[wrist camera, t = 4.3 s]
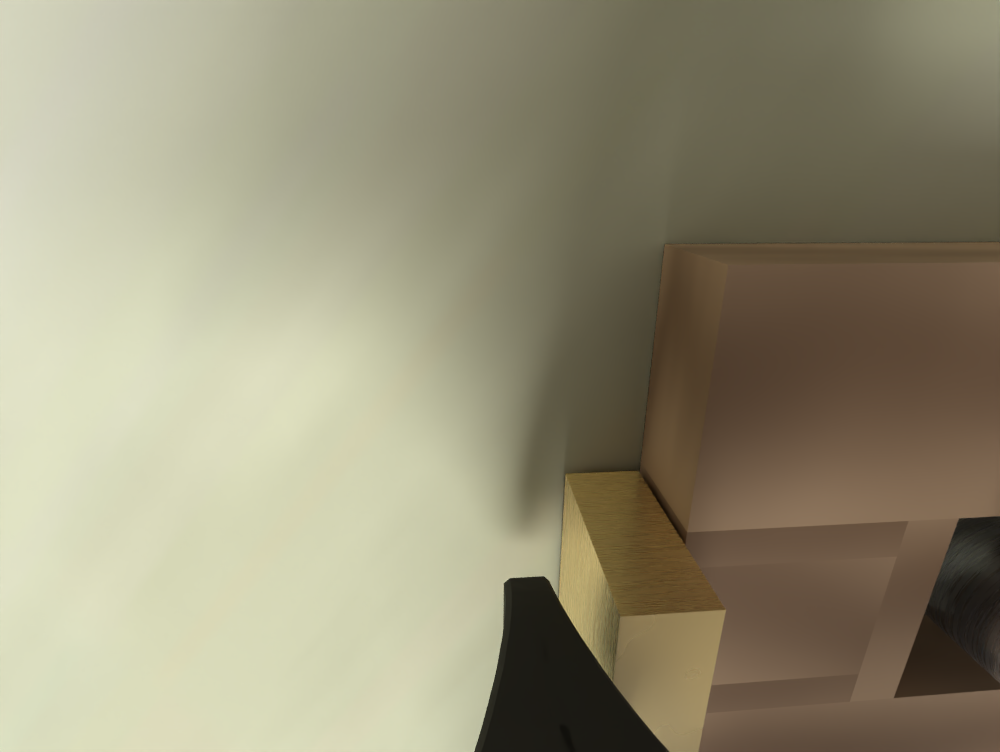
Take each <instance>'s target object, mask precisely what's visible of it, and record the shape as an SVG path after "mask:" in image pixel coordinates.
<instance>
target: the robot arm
mask: <svg viewBox="0 0 1000 752" xmlns="http://www.w3.org/2000/svg"><path fill="white" fill-rule="evenodd" d="M474 752H669V751H668V750H667V748H666V747H665V746H664V745H663V744H662V743H661V742H660V740H659V739H658V738H657V737H656V736H655V735H654V734H653V732H652V731H651V730H650V729H649V728H648V726H647V725H646V724H645V723H644V722H643V720H642V719H641V718H640V717H639V715H638V714H637V713H636V712H635V711H634V709H633V708H632V707H631V705H630V704H629V703H628V701H627V700H626V699H625V698H624V696H623V695H622V694H621V692H620V691H619V690H618V689H617V687H616V686H615V685H614V683H613V682H612V681H611V679H610V678H609V676H608V675H607V674H606V672H605V671H604V670H603V668H602V667H601V665H600V664H599V662H598V661H597V659H596V658H595V657H594V655H593V654H592V652H591V651H590V649H589V648H588V646H587V645H586V643H585V642H584V640H583V639H582V637H581V636H580V634H579V633H578V631H577V630H576V628H575V626H574V625H573V623H572V621H571V620H570V618H569V617H568V615H567V613H566V612H565V610H564V608H563V606H562V605H561V603H560V601H559V599H558V598H557V596H556V594H555V592H554V590H553V588H552V586H551V584H550V582H549V581H548V580H547V579H546V578H545V577H544V576H543V577H525V578H510V579H509V580H507V581H506V582H505V583H504V629H503V637H502V643H501V648H500V654H499V659H498V665H497V670H496V675H495V679H494V683H493V687H492V691H491V695H490V699H489V703H488V707H487V711H486V714H485V718H484V722H483V725H482V729H481V732H480V735H479V739H478V742H477V745H476V748H475V751H474Z"/></svg>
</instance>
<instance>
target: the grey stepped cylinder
mask: <svg viewBox="0 0 1000 752" xmlns="http://www.w3.org/2000/svg"><path fill="white" fill-rule="evenodd" d="M924 614H925V615H927V616H928V617H929V618H930V619H931V620H932V621H933V622H934V623H935V624H936V625H937V626H938V627H939V628H941V629H942V630H943V631H944V632H945V633H946V634H947V635H948V636H949V637H950V638H951V639H952V640H953V641H955V642H956V643H957V644H958V645H959V646H960V647H961V648H962V649H963V650H964V651H965V652H966V653H967V654H969V655H970V656H971V657H972V658H973V659H974V660H975V661H976V662H977V663H978V664H979V665H980V666H981V667H983V668H984V669H985V670H986V671H987V672H988V673H989V674H990V675H991V676H992V677H993V678H994V679H995V680H997V681H998V682H999V683H1000V516H994V517H975V518H959V520H958V522H957V525H956V528H955V531H954V533H953V536H952V539H951V542H950V544H949V547H948V550H947V553H946V555H945V558H944V561H943V564H942V566H941V569H940V572H939V575H938V577H937V580H936V583H935V586H934V588H933V591H932V594H931V597H930V599H929V602H928V605H927V608H926V610H925V613H924Z"/></svg>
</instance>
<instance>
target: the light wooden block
mask: <svg viewBox="0 0 1000 752" xmlns="http://www.w3.org/2000/svg"><path fill="white" fill-rule="evenodd" d="M559 601H560V603H561V605H562V606H563V608H564V610H565V612H566V613H567V615H568V617H569V618H570V620H571V621H572V623H573V625H574V626H575V628H576V630H577V631H578V633H579V634H580V636H581V637H582V639H583V640H584V642H585V643H586V645H587V646H588V648H589V649H590V651H591V652H592V654H593V655H594V657H595V658H596V659H597V661H598V662H599V664H600V665H601V667H602V668H603V670H604V671H605V672H606V674H607V675H608V676H609V678H610V679H611V681H612V682H613V683H614V685H615V686H616V687H617V689H618V690H619V691H620V692H621V694H622V695H623V696H624V698H625V699H626V700H627V701H628V703H629V704H630V705H631V707H632V708H633V709H634V711H635V712H636V713H637V714H638V715H639V717H640V718H641V719H642V720H643V722H644V723H645V724H646V725H647V726H648V728H649V729H650V730H651V731H652V732H653V734H654V735H655V736H656V737H657V738H658V739H659V740H660V742H661V743H662V744H663V745H664V746H665V747H666V748H667V750H668V751H669V752H698V751H699V745H700V740H701V735H702V730H703V725H704V720H705V715H706V710H707V705H708V699H709V694H710V689H711V684H712V679H713V674H714V669H715V664H716V659H717V653H718V648H719V643H720V638H721V633H722V628H723V623H724V618H725V612H726V609H725V608H724V606H723V604H722V603H721V601H720V600H719V598H718V596H717V595H716V593H715V592H714V590H713V589H712V587H711V585H710V584H709V582H708V581H707V579H706V577H705V576H704V574H703V573H702V571H701V570H700V568H699V566H698V565H697V563H696V562H695V560H694V558H693V557H692V555H691V554H690V552H689V551H688V549H687V547H686V546H685V544H684V543H683V541H682V539H681V538H680V536H679V535H678V533H677V532H676V530H675V528H674V527H673V525H672V524H671V522H670V521H669V519H668V517H667V516H666V514H665V513H664V511H663V509H662V508H661V506H660V505H659V503H658V502H657V500H656V498H655V497H654V495H653V494H652V492H651V490H650V489H649V487H648V486H647V484H646V483H645V481H644V479H643V478H642V476H641V475H640V473H639V471H618V472H594V473H570V474H565V492H564V511H563V529H562V547H561V566H560V584H559Z"/></svg>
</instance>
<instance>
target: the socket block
mask: <svg viewBox="0 0 1000 752" xmlns="http://www.w3.org/2000/svg"><path fill="white" fill-rule="evenodd" d="M640 475H641V476H642V478H643V479H644V481H645V483H646V484H647V486H648V487H649V489H650V490H651V492H652V494H653V495H654V497H655V498H656V500H657V502H658V503H659V505H660V506H661V508H662V509H663V511H664V513H665V514H666V516H667V517H668V519H669V521H670V522H671V524H672V525H673V527H674V528H675V530H676V532H677V533H678V535H679V536H680V538H681V539H682V541H683V543H684V544H685V546H686V547H687V549H688V551H689V552H690V554H691V555H692V557H693V558H694V560H695V562H696V563H697V565H698V566H699V568H700V570H701V571H702V573H703V574H704V576H705V577H706V579H707V581H708V582H709V584H710V585H711V587H712V589H713V590H714V592H715V593H716V595H717V596H718V598H719V600H720V601H721V603H722V604H723V606H724V608H725V609H726V612H725V618H724V623H723V628H722V633H721V638H720V643H719V648H718V653H717V659H716V664H715V669H714V674H713V679H712V684H711V689H710V694H709V699H708V705H707V710H706V715H705V720H704V725H703V730H702V735H701V740H700V745H699V751H698V752H1000V683H999V682H998V681H997V680H995V679H994V678H993V677H992V676H991V675H990V674H989V673H988V672H987V671H986V670H985V669H984V668H983V667H981V666H980V665H979V664H978V663H977V662H976V661H975V660H974V659H973V658H972V657H971V656H970V655H969V654H967V653H966V652H965V651H964V650H963V649H962V648H961V647H960V646H959V645H958V644H957V643H956V642H955V641H953V640H952V639H951V638H950V637H949V636H948V635H947V634H946V633H945V632H944V631H943V630H942V629H941V628H939V627H938V626H937V625H936V624H935V623H934V622H933V621H932V620H931V619H930V618H929V617H928V616H927V615H925V614H924V613H925V610H926V608H927V605H928V602H929V599H930V597H931V594H932V591H933V588H934V586H935V583H936V580H937V577H938V575H939V572H940V569H941V566H942V564H943V561H944V558H945V555H946V553H947V550H948V547H949V544H950V542H951V539H952V536H953V533H954V531H955V528H956V525H957V522H958V520H959V518H975V517H994V516H1000V242H922V243H759V244H665V246H664V255H663V264H662V273H661V282H660V291H659V300H658V309H657V318H656V327H655V336H654V346H653V355H652V364H651V373H650V382H649V391H648V400H647V409H646V418H645V427H644V436H643V445H642V454H641V464H640Z"/></svg>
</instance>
